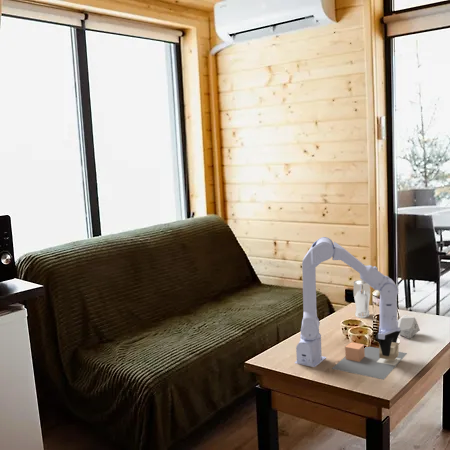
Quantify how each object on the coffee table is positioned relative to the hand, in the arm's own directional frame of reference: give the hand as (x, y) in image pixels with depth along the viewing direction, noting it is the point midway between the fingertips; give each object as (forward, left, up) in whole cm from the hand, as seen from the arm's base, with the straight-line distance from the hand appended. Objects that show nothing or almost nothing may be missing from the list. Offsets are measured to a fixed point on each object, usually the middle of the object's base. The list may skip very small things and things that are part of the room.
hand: (388, 352), depth 191 cm
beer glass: (+42, +26, -4) cm, 50 cm away
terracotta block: (-3, +11, -3) cm, 12 cm away
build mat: (-3, +5, -3) cm, 7 cm away
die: (+27, +2, -4) cm, 27 cm away
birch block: (0, 0, -2) cm, 2 cm away
